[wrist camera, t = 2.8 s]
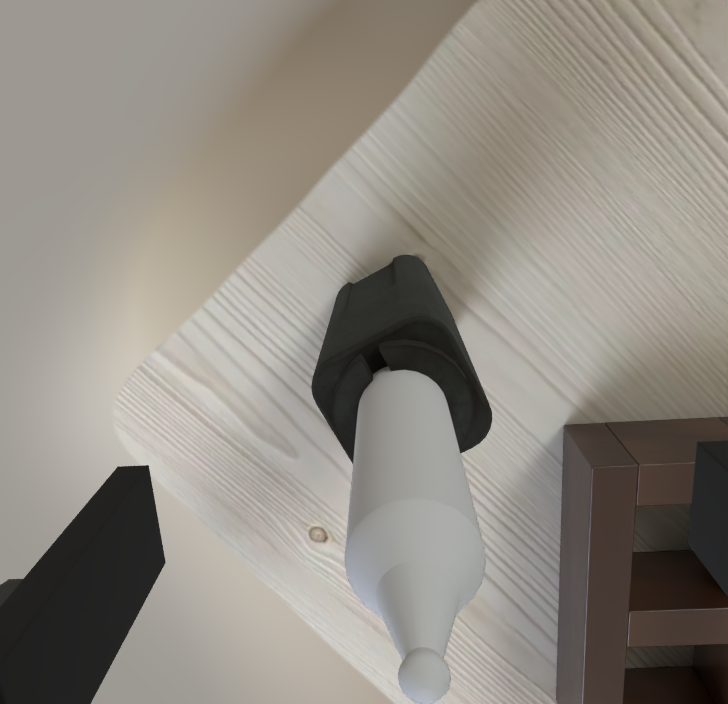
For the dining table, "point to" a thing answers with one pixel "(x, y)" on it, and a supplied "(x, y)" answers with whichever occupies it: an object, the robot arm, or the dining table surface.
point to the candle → (406, 460)
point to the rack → (634, 568)
